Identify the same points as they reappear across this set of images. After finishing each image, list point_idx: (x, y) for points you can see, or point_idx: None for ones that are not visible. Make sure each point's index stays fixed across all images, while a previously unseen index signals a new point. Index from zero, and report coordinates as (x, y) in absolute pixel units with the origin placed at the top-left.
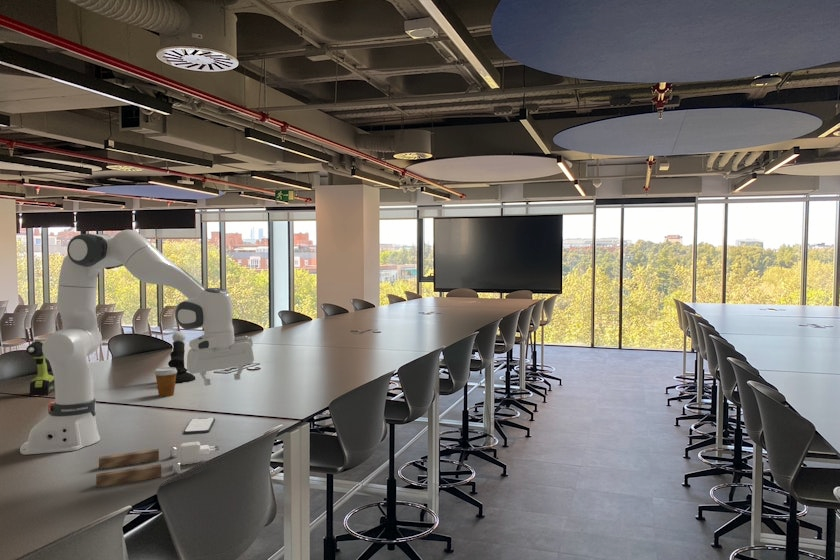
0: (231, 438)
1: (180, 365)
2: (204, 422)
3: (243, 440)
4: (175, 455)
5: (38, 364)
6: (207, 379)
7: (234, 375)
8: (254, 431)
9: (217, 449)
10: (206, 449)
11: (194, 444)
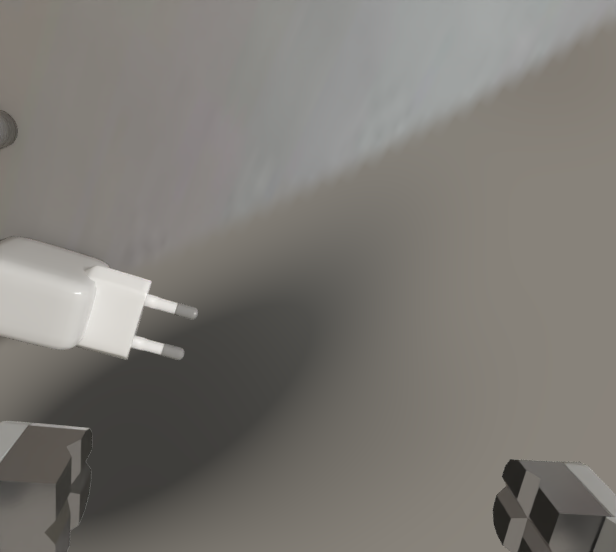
0: (389, 40)
1: None
2: None
3: (415, 129)
4: (3, 146)
5: None
6: (12, 534)
7: (539, 518)
8: (545, 12)
9: (172, 357)
10: (111, 353)
11: (38, 341)
